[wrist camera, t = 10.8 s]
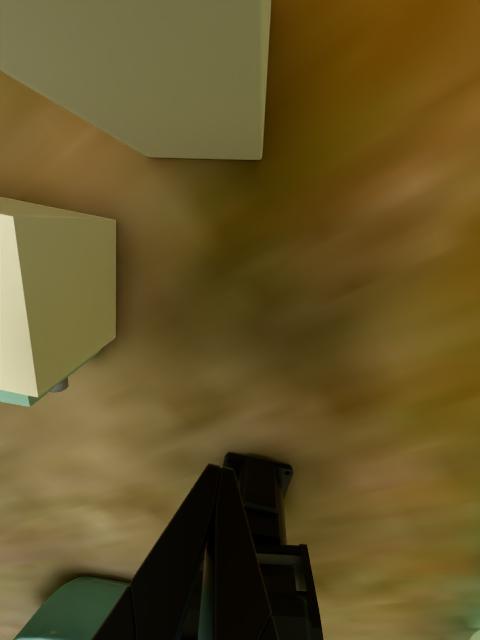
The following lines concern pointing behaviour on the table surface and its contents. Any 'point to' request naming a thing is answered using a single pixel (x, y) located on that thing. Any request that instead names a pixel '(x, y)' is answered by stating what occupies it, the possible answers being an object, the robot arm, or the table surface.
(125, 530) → the table surface
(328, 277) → the table surface
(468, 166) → the table surface
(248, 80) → the milk carton
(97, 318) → the cupboard
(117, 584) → the casserole dish
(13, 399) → the door
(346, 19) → the table surface
